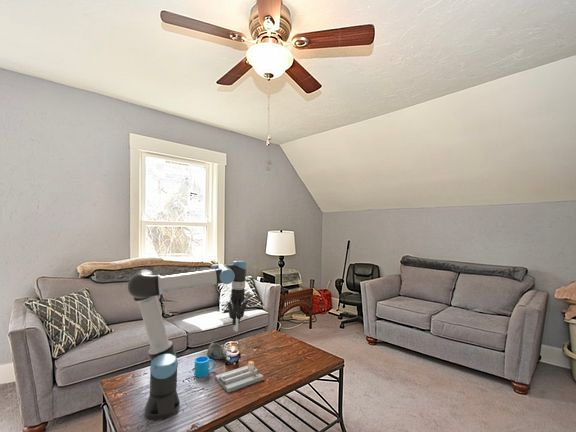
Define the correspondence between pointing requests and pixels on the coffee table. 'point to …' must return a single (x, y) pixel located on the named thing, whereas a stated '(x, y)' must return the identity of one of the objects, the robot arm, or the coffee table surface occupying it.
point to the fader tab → (250, 366)
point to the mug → (202, 366)
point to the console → (238, 378)
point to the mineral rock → (215, 351)
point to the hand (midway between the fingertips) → (235, 330)
